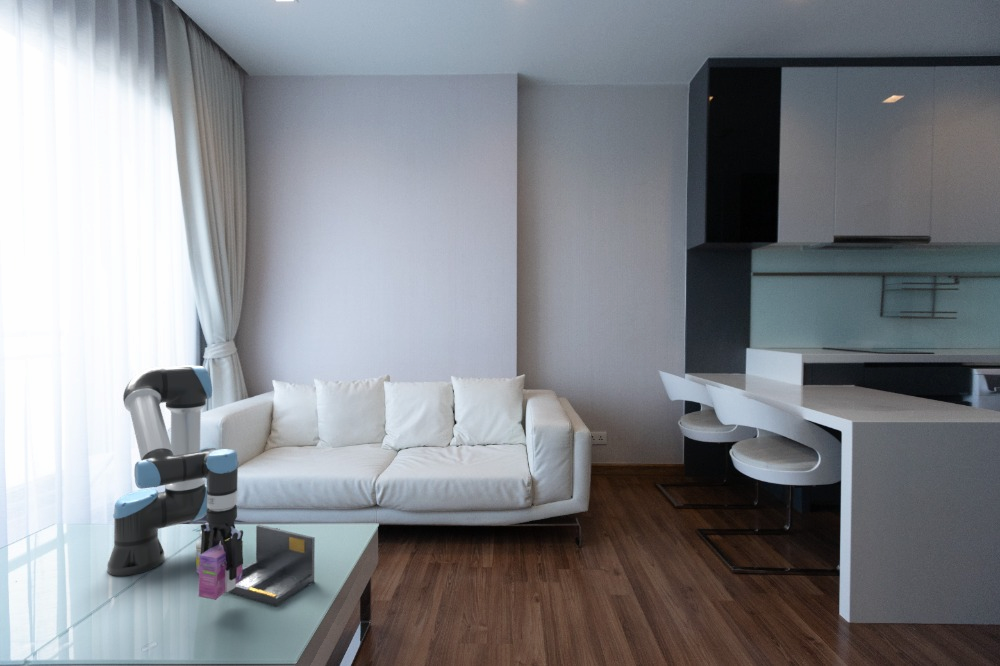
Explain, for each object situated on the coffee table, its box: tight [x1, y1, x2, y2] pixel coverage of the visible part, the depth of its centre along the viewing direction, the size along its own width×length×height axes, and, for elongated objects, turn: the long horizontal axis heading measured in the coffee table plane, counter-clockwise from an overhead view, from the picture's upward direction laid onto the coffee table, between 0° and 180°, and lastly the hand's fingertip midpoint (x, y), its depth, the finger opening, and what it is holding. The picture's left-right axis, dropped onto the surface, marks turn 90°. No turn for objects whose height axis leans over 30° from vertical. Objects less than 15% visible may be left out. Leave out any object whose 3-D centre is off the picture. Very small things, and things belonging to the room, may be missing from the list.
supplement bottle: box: [195, 530, 202, 574], centre depth 164 cm, size 7×7×13 cm
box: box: [198, 539, 244, 600], centre depth 142 cm, size 10×6×12 cm, turn 168°
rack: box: [228, 524, 316, 608], centre depth 155 cm, size 23×15×14 cm, turn 68°
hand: (221, 586), depth 143 cm, fingers closed on box, 6 cm apart
